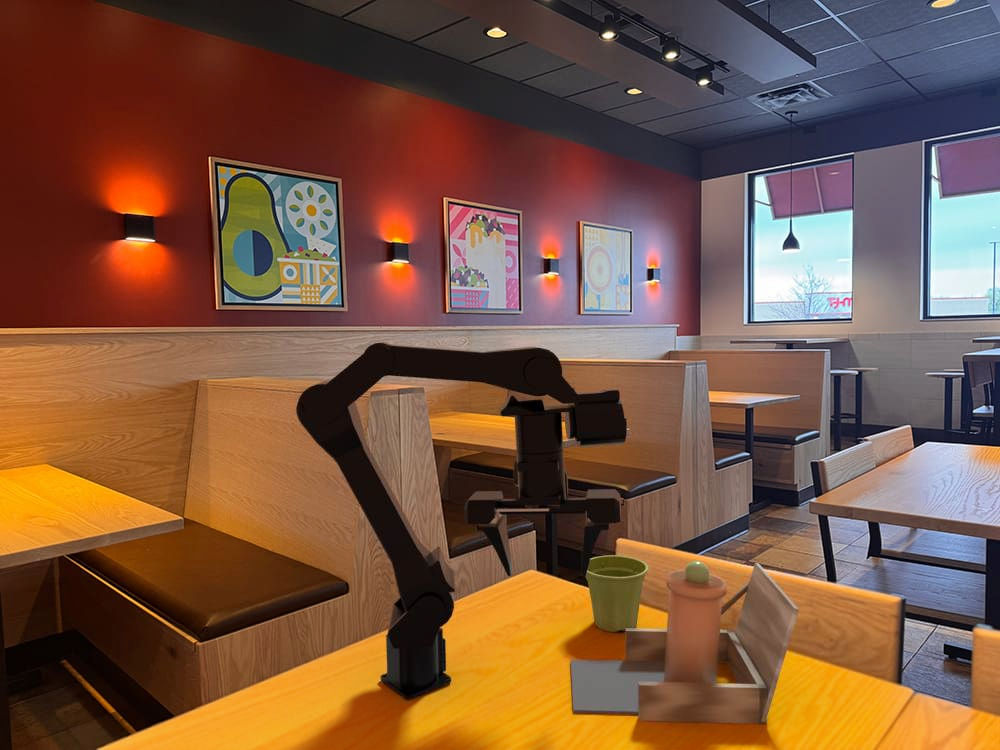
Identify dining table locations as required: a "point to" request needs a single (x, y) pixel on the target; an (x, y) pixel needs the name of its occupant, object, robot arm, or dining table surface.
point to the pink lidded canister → (693, 624)
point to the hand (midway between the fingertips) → (546, 575)
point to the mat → (611, 684)
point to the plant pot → (615, 590)
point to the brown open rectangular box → (746, 651)
